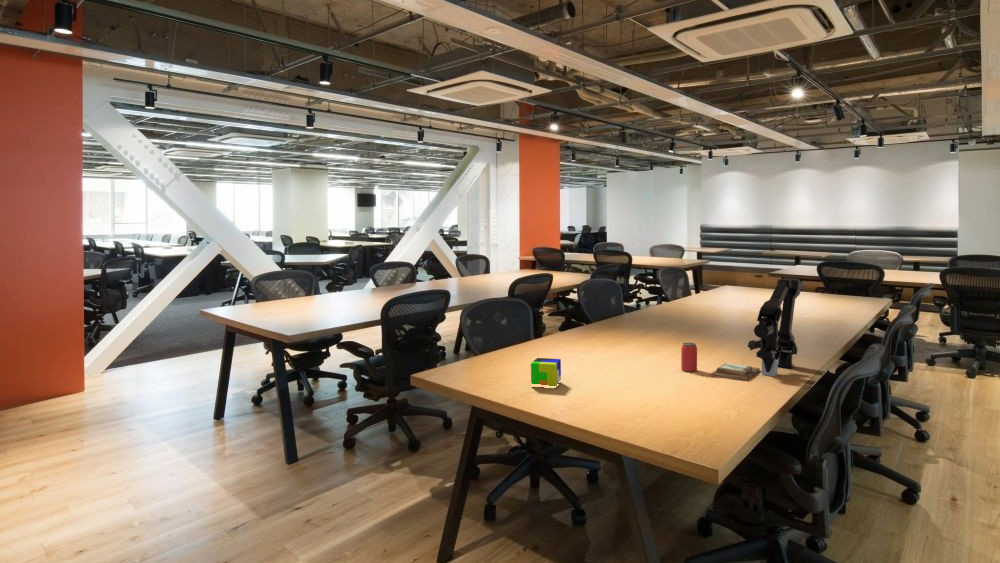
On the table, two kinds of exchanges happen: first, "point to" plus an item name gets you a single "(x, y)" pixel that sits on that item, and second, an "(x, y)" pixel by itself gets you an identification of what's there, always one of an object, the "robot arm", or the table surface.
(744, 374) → the base
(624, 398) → the table surface
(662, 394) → the table surface
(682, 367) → the beer can
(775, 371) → the block
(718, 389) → the table surface
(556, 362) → the puzzle toy
